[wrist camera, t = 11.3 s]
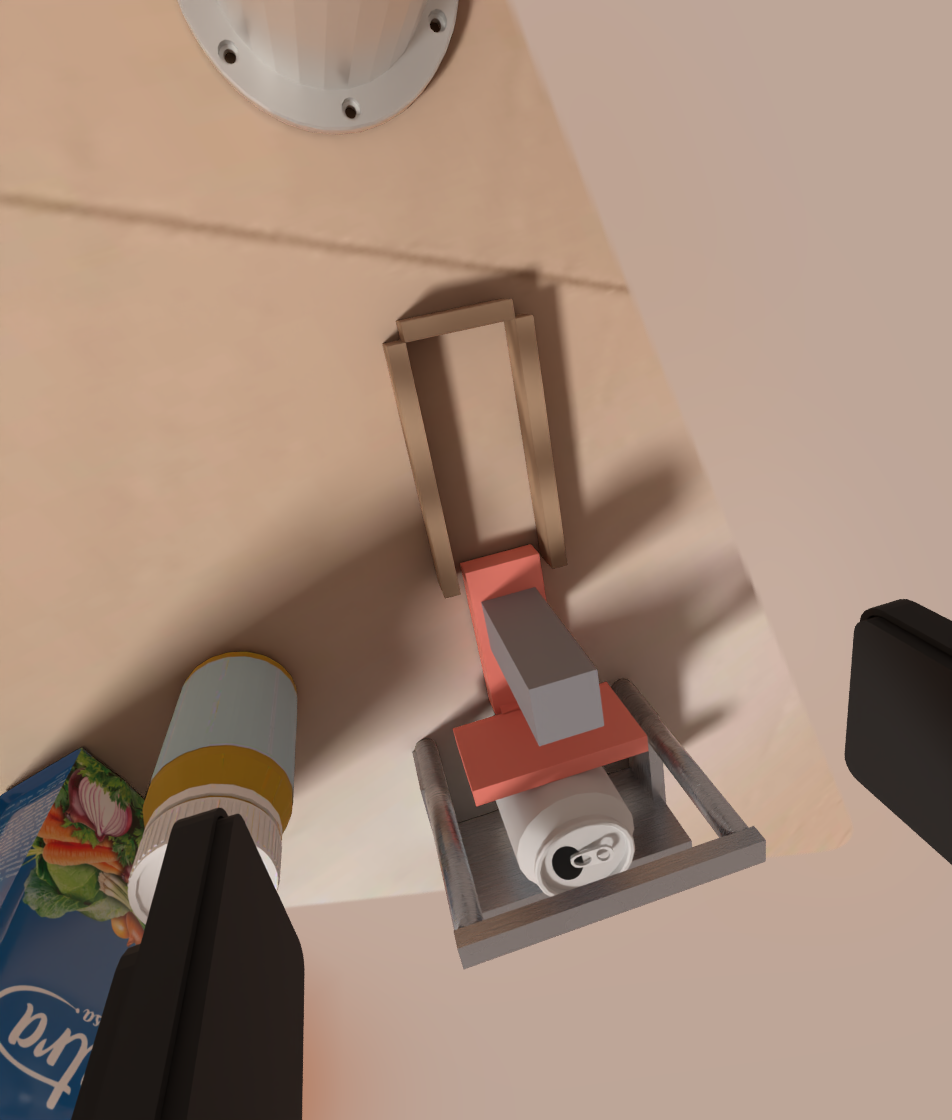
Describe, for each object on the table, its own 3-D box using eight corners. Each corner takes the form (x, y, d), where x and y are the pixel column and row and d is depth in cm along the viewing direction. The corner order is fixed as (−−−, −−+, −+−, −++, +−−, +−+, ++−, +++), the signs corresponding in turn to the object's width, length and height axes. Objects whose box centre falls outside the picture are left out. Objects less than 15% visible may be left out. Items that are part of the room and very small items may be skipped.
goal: (410, 743, 46) (453, 950, 31) (632, 675, 48) (769, 839, 33) (438, 841, 50) (488, 1064, 35) (642, 775, 52) (767, 958, 38)
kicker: (412, 575, 40) (447, 674, 30) (575, 532, 42) (662, 611, 31) (449, 720, 45) (489, 848, 35) (593, 676, 47) (674, 787, 36)
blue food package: (85, 742, 40) (-211, 1318, 17) (208, 853, 45) (103, 1405, 23) (-1, 794, 40) (-410, 1437, 17) (132, 898, 45) (-50, 1497, 23)
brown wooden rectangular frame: (377, 324, 35) (382, 326, 33) (517, 295, 36) (530, 295, 34) (438, 582, 41) (445, 598, 39) (554, 551, 42) (567, 564, 40)
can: (462, 721, 46) (507, 852, 35) (556, 677, 46) (629, 793, 36) (497, 791, 49) (548, 931, 38) (584, 750, 50) (659, 876, 39)
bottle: (256, 755, 43) (229, 964, 30) (159, 708, 40) (80, 916, 27) (319, 680, 42) (321, 862, 29) (225, 626, 39) (177, 801, 26)
